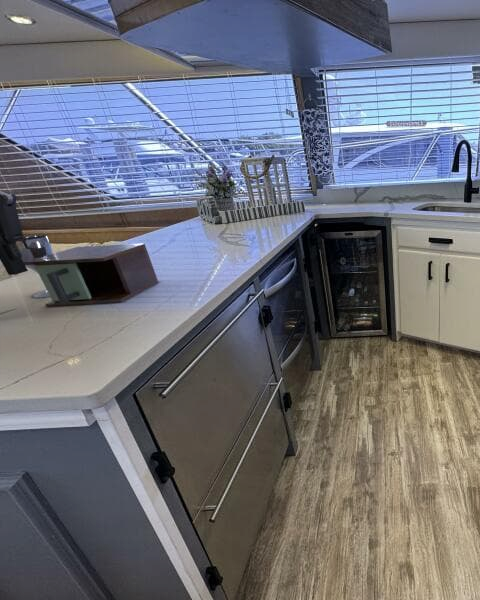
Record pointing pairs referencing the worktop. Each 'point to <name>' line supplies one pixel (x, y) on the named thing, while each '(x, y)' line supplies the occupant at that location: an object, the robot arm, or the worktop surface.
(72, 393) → the worktop surface
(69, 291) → the door
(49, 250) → the wine glass
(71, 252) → the cabinet
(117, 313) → the worktop surface
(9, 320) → the worktop surface
